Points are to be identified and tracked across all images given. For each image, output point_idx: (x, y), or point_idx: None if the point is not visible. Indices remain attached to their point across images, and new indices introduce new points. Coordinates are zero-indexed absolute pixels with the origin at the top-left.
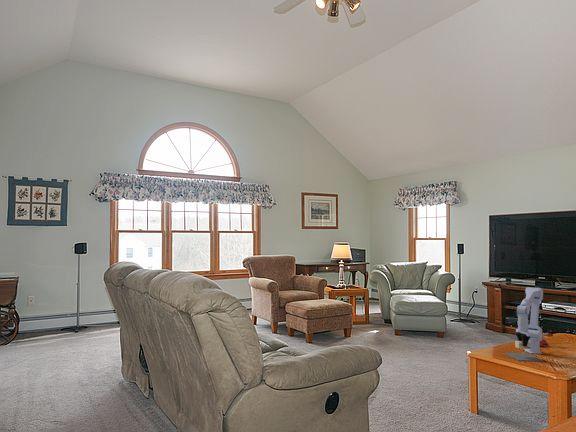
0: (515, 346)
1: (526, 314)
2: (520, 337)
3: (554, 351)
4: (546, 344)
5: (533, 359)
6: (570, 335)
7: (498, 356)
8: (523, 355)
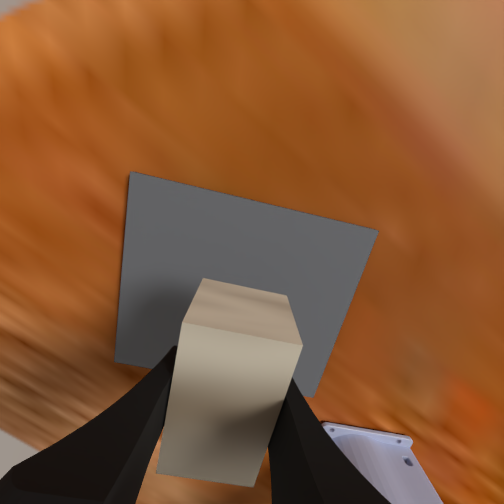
0: (279, 297)
1: None
2: (289, 481)
3: None
4: None
5: (144, 317)
6: None
7: (303, 90)
8: None
